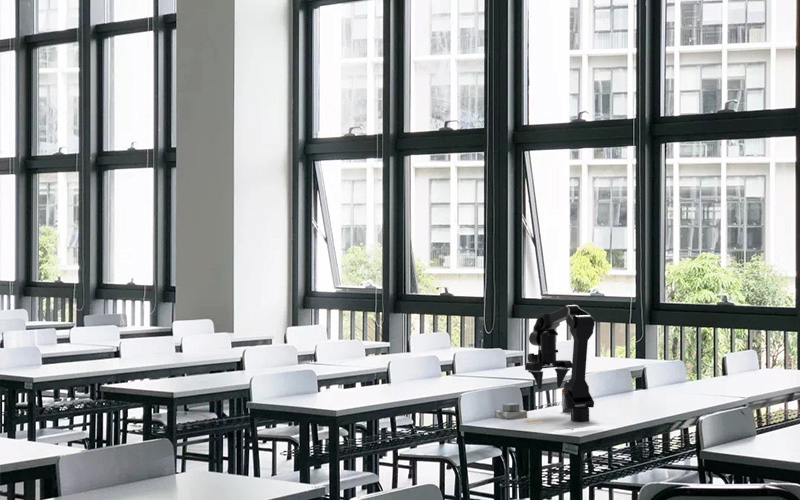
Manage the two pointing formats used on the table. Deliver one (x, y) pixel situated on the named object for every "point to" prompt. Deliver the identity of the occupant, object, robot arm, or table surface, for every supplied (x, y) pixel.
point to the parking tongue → (533, 421)
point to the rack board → (510, 414)
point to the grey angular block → (511, 407)
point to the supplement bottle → (564, 401)
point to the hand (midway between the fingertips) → (549, 388)
